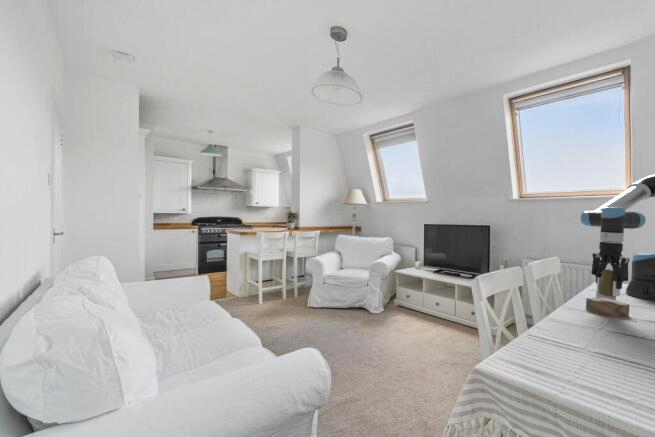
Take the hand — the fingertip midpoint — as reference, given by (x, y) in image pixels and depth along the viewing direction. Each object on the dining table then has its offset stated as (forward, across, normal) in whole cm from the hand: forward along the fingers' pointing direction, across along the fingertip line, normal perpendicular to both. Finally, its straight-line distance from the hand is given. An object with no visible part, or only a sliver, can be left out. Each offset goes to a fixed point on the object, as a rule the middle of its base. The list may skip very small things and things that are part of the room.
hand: (607, 293), depth 134 cm
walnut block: (+8, 0, 0) cm, 8 cm away
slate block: (+8, -11, +13) cm, 19 cm away
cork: (+1, 0, 0) cm, 1 cm away
